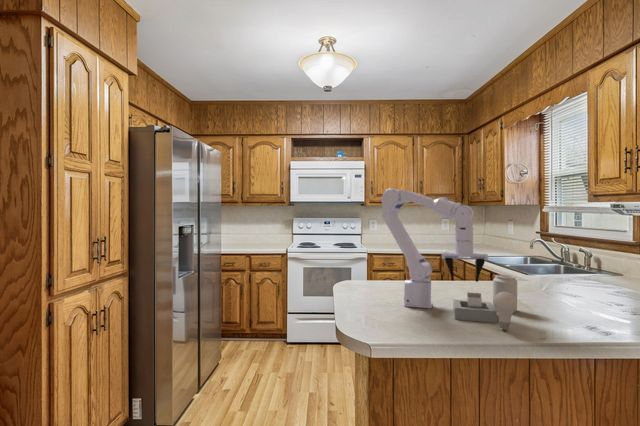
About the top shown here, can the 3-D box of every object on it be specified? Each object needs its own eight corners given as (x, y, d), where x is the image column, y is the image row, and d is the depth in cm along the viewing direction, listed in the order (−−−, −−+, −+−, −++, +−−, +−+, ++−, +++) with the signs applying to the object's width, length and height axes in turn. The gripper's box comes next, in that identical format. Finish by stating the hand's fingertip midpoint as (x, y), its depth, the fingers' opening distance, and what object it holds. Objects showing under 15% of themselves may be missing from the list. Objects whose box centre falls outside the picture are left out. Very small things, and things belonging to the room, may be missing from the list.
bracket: (467, 316, 117) (468, 294, 117) (466, 312, 122) (466, 291, 122) (481, 317, 116) (481, 295, 116) (479, 313, 120) (479, 291, 120)
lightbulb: (515, 335, 100) (516, 295, 100) (491, 331, 104) (491, 292, 104) (517, 329, 105) (517, 291, 105) (494, 325, 109) (494, 288, 109)
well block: (454, 319, 115) (455, 307, 115) (453, 309, 127) (453, 299, 127) (496, 322, 112) (496, 311, 111) (491, 312, 123) (491, 302, 123)
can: (520, 314, 122) (520, 278, 122) (496, 312, 123) (496, 277, 123) (513, 308, 129) (513, 274, 129) (490, 306, 131) (490, 273, 131)
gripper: (441, 241, 123) (442, 281, 123) (488, 241, 119) (489, 283, 118) (441, 239, 130) (441, 278, 130) (486, 240, 125) (486, 280, 125)
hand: (464, 280), depth 124 cm, fingers open, 7 cm apart
